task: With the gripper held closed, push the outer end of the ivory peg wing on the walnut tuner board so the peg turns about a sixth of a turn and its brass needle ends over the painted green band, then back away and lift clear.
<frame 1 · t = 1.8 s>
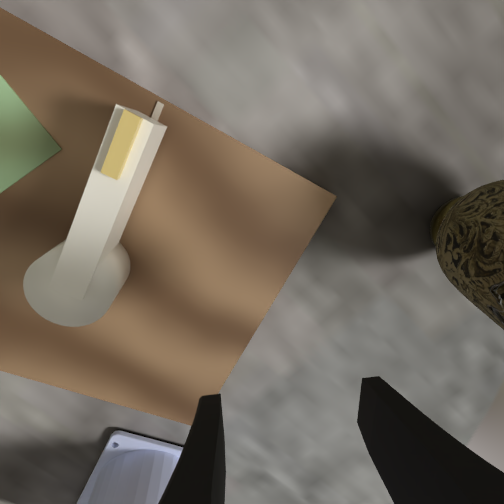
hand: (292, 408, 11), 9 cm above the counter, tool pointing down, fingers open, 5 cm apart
peg: (102, 221, 14), point 3 cm above the counter, hinge at 0.0°
tuner board: (103, 254, 18), on the counter
cup: (449, 222, 20), on the counter
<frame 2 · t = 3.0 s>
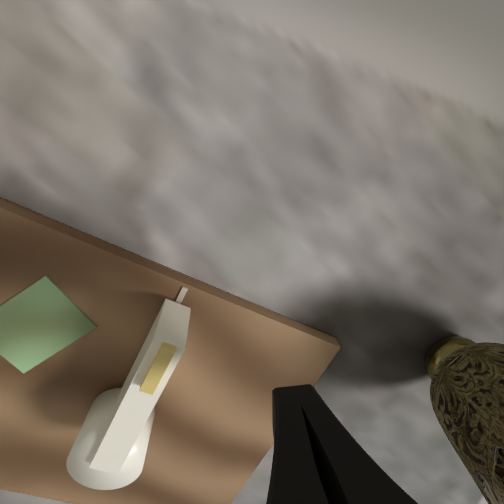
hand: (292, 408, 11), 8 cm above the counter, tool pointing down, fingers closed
peg: (134, 399, 16), point 3 cm above the counter, hinge at 0.0°
tuner board: (128, 394, 20), on the counter
cup: (443, 352, 22), on the counter
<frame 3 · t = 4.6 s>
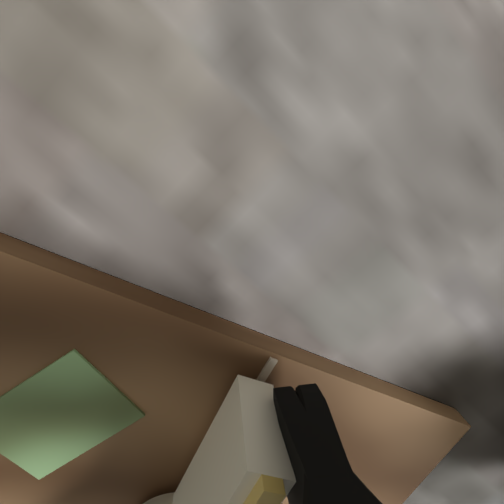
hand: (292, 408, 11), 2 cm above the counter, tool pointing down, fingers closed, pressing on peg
tuner board: (178, 489, 15), on the counter
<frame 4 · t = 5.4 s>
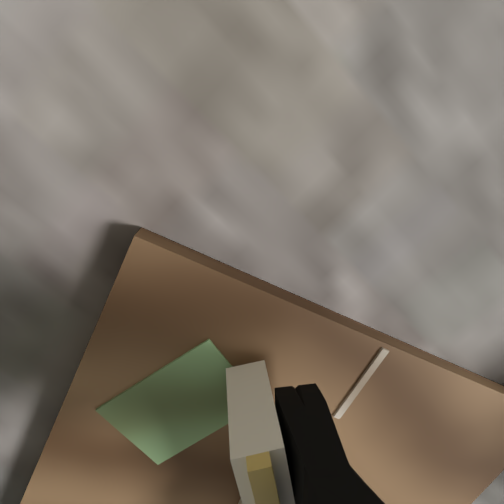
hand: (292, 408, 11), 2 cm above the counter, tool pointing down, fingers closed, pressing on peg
tuner board: (271, 477, 15), on the counter
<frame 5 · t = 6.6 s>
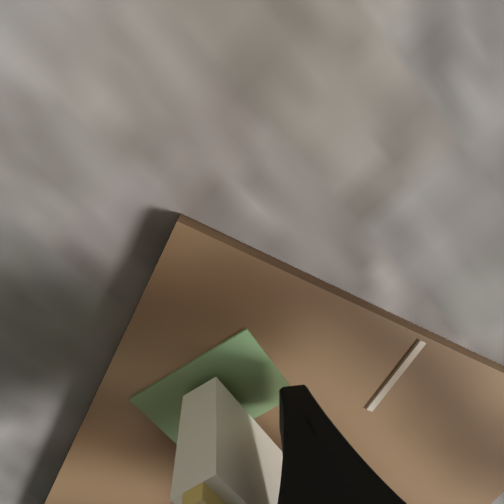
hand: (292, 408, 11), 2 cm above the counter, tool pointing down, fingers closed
tuner board: (297, 469, 15), on the counter
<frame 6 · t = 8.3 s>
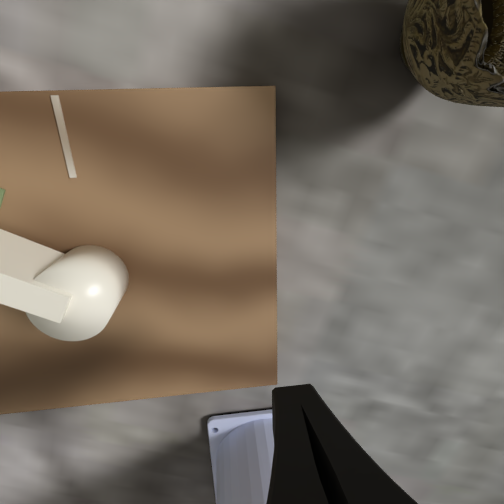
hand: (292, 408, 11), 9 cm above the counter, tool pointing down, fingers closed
peg: (9, 268, 14), point 3 cm above the counter, hinge at 60.4°
tuner board: (102, 267, 18), on the counter
cup: (425, 42, 16), on the counter
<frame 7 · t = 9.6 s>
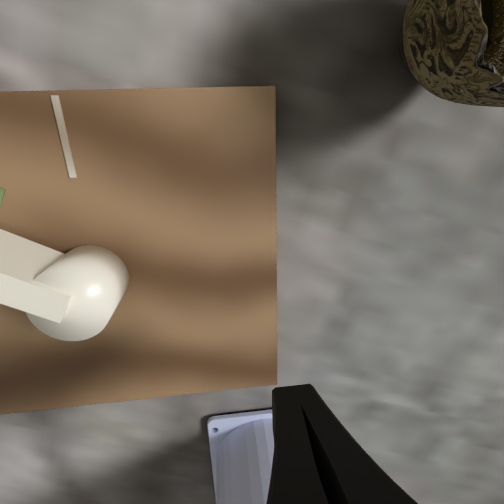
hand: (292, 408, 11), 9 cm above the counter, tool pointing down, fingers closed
peg: (9, 268, 14), point 3 cm above the counter, hinge at 60.4°
tuner board: (102, 267, 18), on the counter
cup: (425, 42, 16), on the counter
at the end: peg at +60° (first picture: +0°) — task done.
